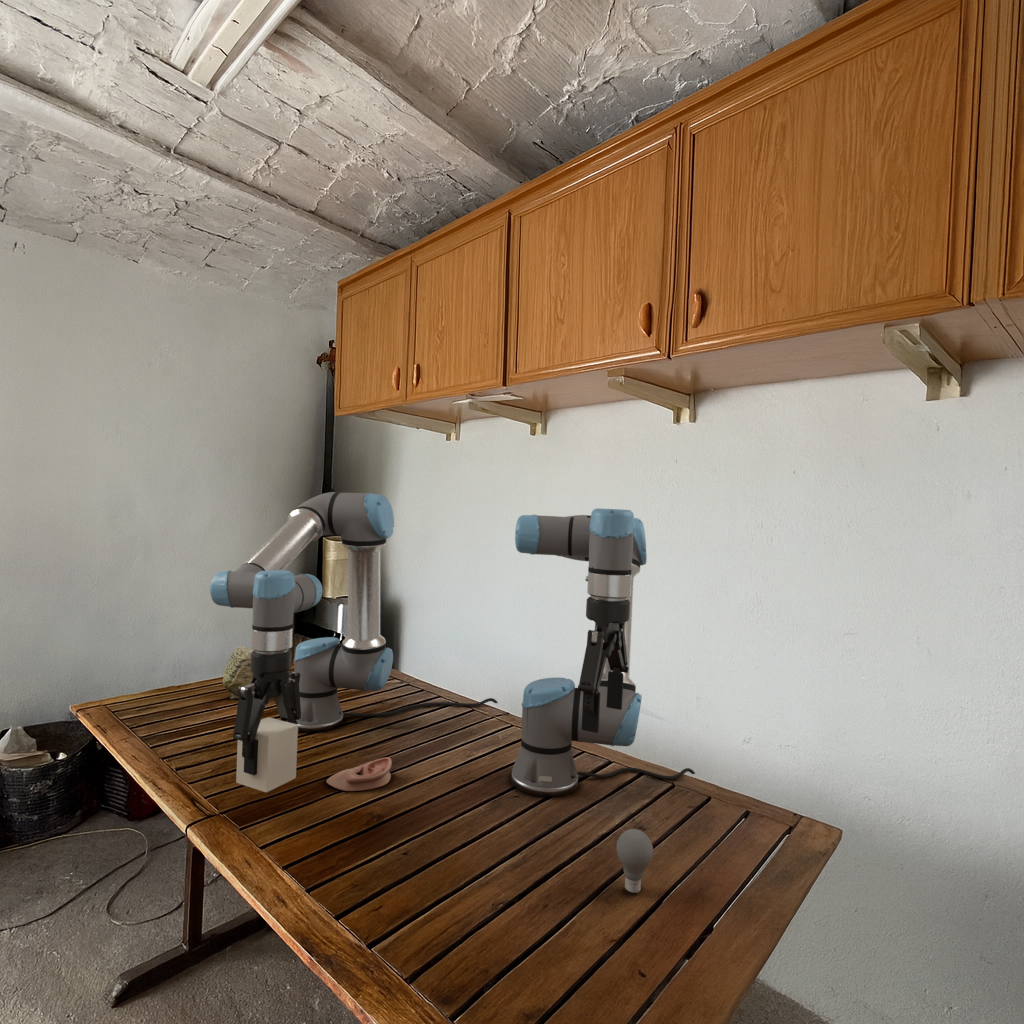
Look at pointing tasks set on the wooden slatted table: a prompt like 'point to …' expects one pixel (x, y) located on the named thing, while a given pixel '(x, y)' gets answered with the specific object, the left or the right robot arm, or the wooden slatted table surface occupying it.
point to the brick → (271, 756)
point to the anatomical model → (363, 776)
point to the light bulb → (634, 857)
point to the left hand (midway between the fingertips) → (267, 765)
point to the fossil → (238, 671)
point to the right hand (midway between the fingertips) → (602, 719)
